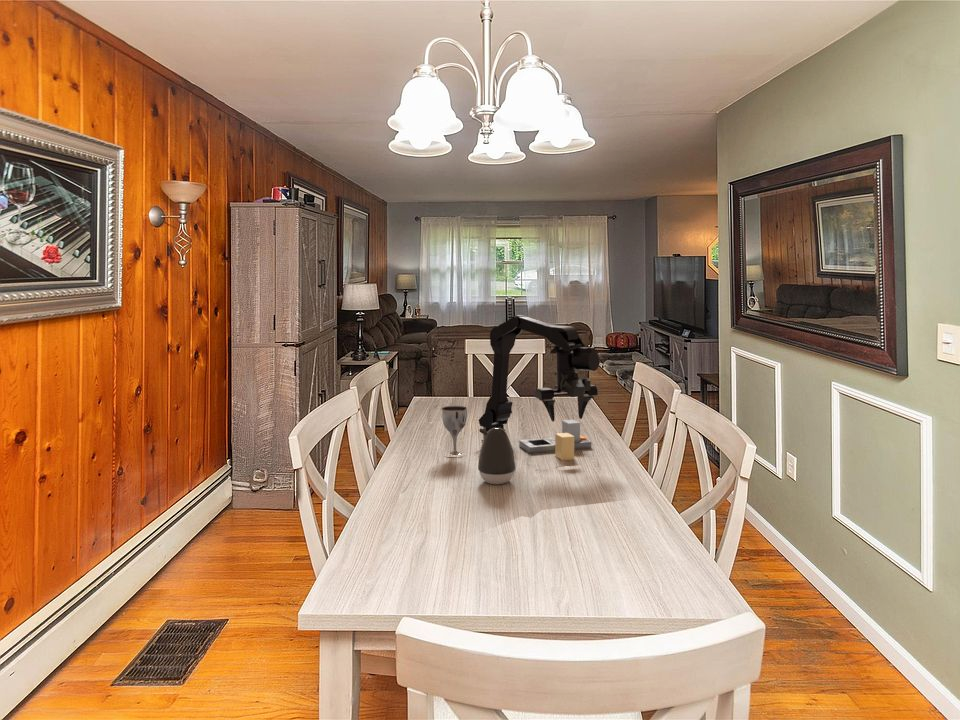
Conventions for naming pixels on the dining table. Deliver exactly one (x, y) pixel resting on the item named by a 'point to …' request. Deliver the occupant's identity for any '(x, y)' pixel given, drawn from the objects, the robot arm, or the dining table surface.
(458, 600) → the dining table surface
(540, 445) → the grey socket board
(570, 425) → the grey-blue plug
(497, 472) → the dark grey egg shape
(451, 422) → the wine glass
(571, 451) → the ochre plug
